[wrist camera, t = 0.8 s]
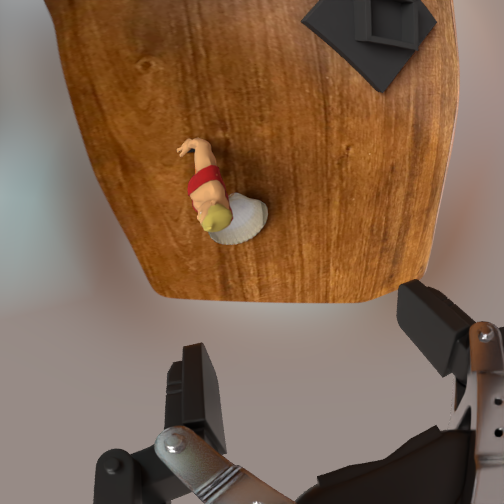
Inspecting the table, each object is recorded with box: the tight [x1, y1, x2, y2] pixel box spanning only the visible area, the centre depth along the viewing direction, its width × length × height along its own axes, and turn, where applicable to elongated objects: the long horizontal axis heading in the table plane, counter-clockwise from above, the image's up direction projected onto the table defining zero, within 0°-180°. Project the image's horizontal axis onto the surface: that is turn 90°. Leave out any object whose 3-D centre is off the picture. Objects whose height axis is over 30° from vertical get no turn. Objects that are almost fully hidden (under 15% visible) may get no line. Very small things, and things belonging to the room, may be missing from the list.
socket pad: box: [301, 0, 437, 93], centre depth 26 cm, size 14×16×4 cm
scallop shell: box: [208, 193, 268, 245], centre depth 39 cm, size 8×3×8 cm
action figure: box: [177, 138, 233, 232], centre depth 29 cm, size 10×4×15 cm, turn 13°
